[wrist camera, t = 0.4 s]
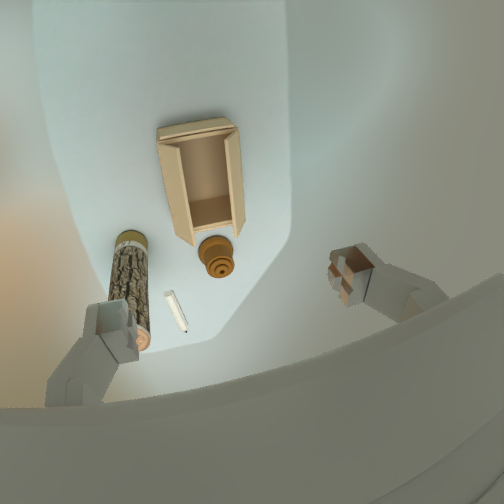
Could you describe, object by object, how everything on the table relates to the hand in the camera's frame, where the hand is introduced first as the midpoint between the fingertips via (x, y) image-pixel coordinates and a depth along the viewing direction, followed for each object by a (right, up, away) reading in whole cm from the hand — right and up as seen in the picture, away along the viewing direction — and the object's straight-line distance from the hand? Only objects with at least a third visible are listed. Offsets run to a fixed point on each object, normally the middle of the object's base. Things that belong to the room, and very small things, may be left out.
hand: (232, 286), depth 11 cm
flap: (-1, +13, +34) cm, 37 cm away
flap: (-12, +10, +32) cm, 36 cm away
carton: (-9, +17, +41) cm, 46 cm away
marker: (-18, -14, +62) cm, 66 cm away
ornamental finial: (-7, +2, +54) cm, 54 cm away
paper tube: (-24, +3, +47) cm, 53 cm away
